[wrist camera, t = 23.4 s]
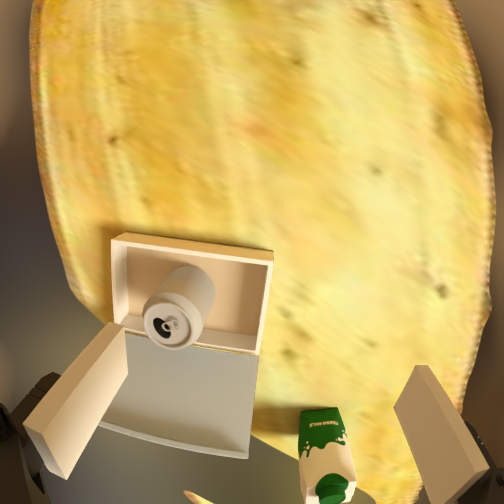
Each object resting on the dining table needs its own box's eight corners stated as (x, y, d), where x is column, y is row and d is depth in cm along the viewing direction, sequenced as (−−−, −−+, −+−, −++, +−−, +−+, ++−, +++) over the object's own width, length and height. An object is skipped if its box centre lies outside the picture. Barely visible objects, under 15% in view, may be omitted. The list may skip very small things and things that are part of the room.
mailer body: (126, 231, 43) (111, 239, 39) (273, 251, 43) (273, 261, 38) (127, 314, 47) (114, 328, 42) (260, 337, 47) (258, 354, 42)
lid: (77, 416, 30) (84, 420, 32) (248, 457, 30) (246, 459, 31) (109, 323, 40) (113, 331, 42) (260, 351, 40) (258, 357, 42)
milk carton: (342, 403, 50) (364, 488, 31) (338, 433, 52) (354, 512, 33) (296, 408, 51) (303, 497, 31) (296, 437, 53) (301, 519, 34)
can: (158, 276, 44) (125, 311, 33) (201, 255, 43) (178, 287, 31) (182, 318, 46) (158, 362, 34) (225, 300, 45) (211, 344, 33)
